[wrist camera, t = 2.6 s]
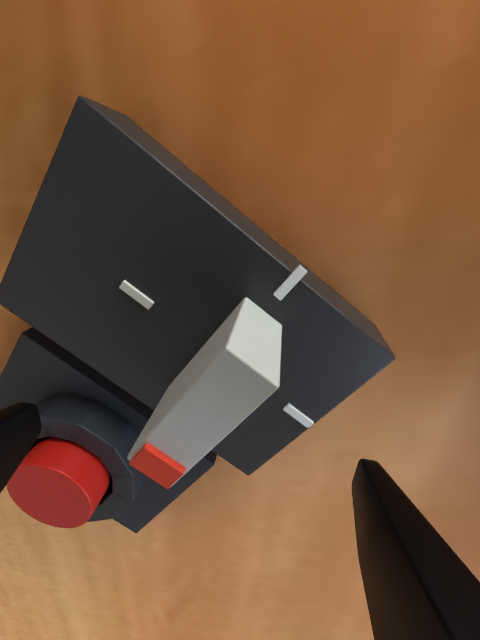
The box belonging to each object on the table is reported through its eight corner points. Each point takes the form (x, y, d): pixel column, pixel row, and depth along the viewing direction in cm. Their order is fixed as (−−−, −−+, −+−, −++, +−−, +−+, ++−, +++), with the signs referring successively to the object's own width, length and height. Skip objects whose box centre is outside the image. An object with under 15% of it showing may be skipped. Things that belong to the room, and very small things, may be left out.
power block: (220, 441, 19) (206, 494, 15) (146, 509, 22) (123, 563, 19) (45, 319, 17) (-11, 350, 14) (-4, 413, 20) (-58, 456, 17)
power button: (124, 470, 16) (106, 501, 14) (89, 508, 18) (69, 540, 16) (50, 422, 15) (23, 449, 14) (21, 467, 17) (-6, 495, 16)
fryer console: (382, 320, 14) (406, 354, 11) (251, 435, 18) (243, 482, 15) (128, 105, 12) (79, 80, 9) (40, 285, 16) (-14, 307, 13)
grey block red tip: (245, 295, 11) (224, 351, 8) (282, 325, 12) (280, 393, 8) (168, 385, 14) (121, 465, 10) (201, 409, 14) (168, 495, 10)
